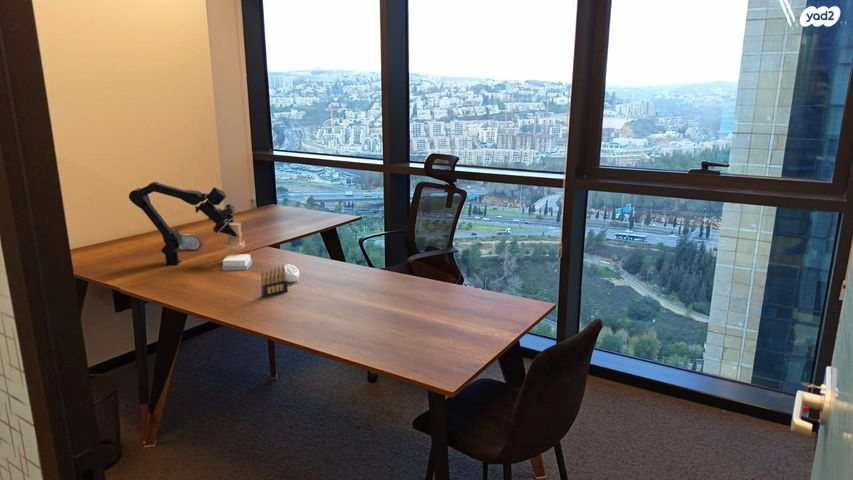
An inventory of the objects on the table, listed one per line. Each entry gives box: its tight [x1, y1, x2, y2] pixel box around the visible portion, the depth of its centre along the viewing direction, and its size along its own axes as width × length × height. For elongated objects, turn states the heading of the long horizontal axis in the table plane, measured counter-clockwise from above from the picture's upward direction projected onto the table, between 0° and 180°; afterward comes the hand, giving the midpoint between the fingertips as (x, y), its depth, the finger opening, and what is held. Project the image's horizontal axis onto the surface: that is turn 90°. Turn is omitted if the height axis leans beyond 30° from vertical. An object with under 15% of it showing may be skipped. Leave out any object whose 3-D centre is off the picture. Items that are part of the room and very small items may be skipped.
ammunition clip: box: [260, 264, 289, 299], centre depth 235 cm, size 11×2×12 cm, turn 130°
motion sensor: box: [281, 264, 301, 283], centre depth 250 cm, size 8×8×8 cm
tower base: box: [221, 258, 253, 271], centre depth 272 cm, size 11×11×2 cm
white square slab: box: [222, 253, 252, 266], centre depth 271 cm, size 10×10×2 cm
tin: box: [177, 232, 204, 251], centre depth 298 cm, size 15×3×8 cm, turn 84°
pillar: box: [225, 221, 246, 251], centre depth 276 cm, size 7×7×12 cm
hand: (237, 234), depth 276 cm, fingers closed on pillar, 5 cm apart
